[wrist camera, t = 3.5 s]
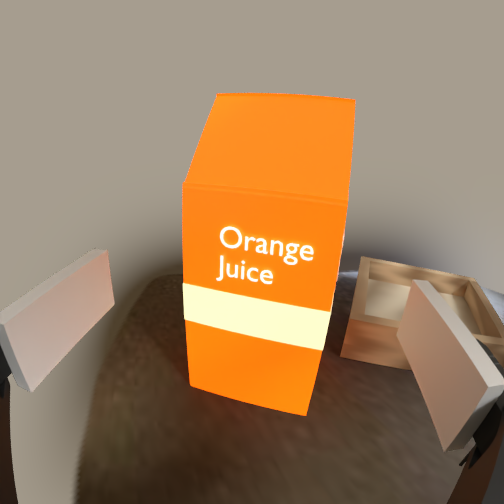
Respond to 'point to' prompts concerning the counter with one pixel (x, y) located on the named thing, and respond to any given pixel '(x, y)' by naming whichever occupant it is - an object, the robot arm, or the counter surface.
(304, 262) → the orange juice
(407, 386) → the counter surface
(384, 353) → the wooden tray
